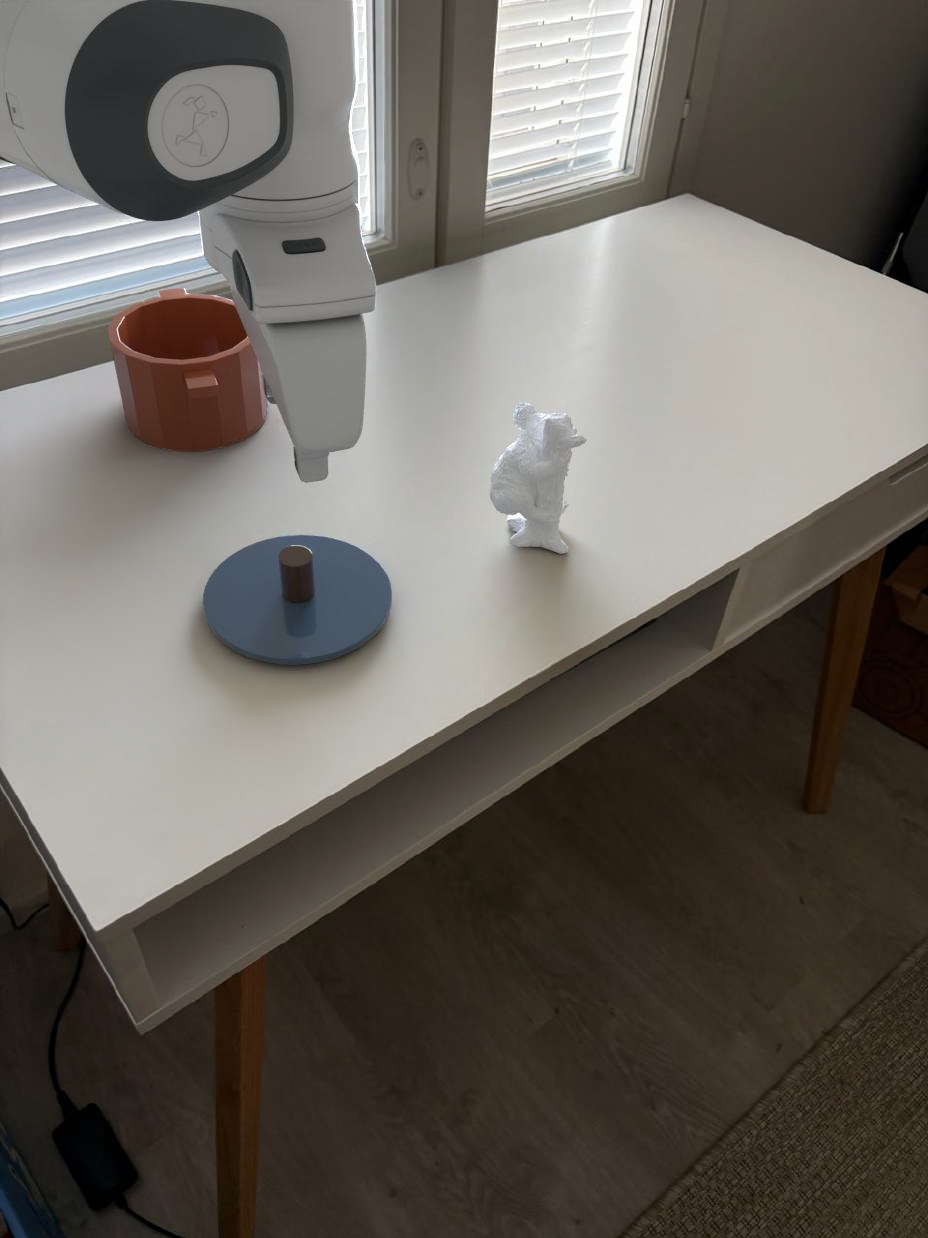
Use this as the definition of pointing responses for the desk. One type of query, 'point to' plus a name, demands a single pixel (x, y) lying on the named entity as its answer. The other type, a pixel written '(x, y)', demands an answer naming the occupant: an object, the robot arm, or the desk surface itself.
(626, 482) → the desk surface
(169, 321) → the pot
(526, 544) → the koala figurine
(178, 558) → the desk surface
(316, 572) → the lid
